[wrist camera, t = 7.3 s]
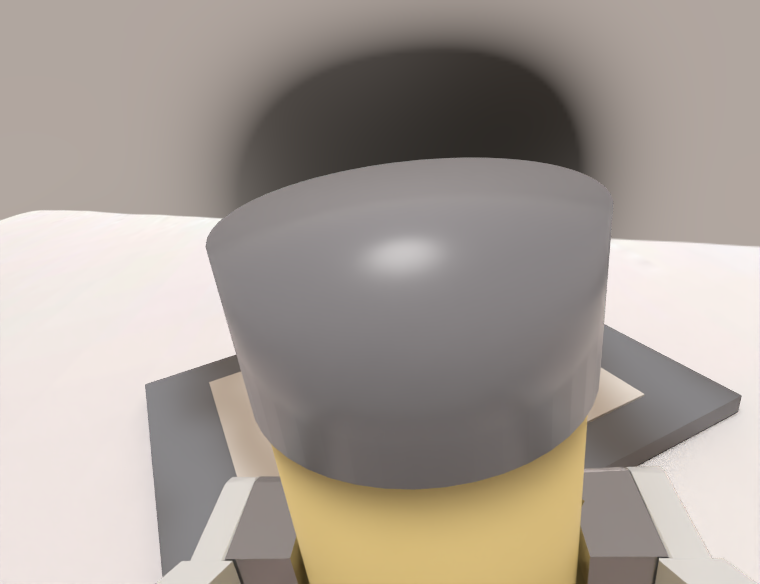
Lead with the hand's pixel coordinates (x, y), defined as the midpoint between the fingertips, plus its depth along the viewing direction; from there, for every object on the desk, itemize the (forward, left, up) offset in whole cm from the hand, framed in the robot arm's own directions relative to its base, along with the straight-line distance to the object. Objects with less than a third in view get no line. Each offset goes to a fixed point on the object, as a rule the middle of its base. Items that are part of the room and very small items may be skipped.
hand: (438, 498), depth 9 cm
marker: (0, -1, -7) cm, 7 cm away
